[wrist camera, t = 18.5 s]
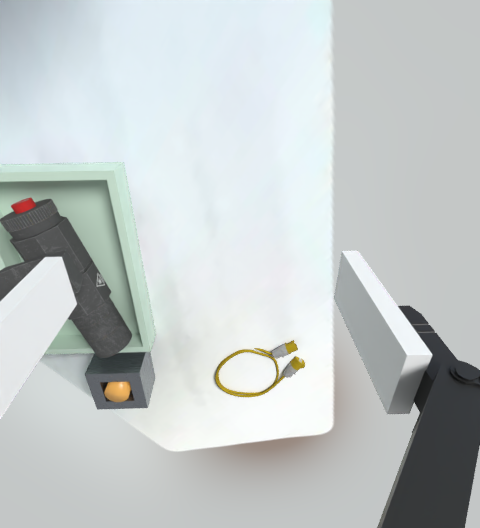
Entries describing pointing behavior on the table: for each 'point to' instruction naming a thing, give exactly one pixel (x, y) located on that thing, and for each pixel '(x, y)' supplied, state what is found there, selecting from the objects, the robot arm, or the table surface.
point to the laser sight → (77, 266)
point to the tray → (88, 237)
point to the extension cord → (276, 353)
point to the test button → (117, 391)
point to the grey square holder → (122, 378)
